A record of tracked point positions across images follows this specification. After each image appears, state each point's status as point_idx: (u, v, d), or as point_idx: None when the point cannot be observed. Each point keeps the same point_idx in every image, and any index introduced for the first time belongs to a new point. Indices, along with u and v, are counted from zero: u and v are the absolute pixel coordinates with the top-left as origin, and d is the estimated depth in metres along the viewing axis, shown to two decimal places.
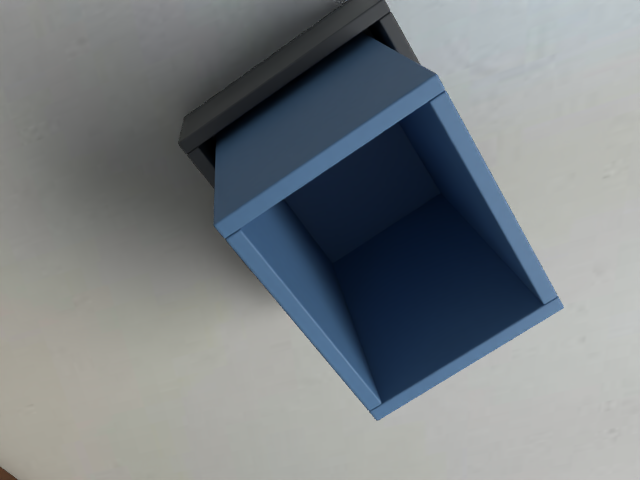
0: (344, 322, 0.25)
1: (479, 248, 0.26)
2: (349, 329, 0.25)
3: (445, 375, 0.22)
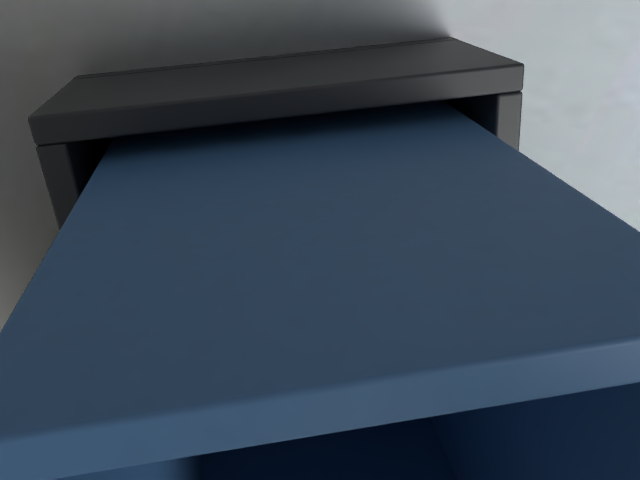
0: None
1: None
2: None
3: None
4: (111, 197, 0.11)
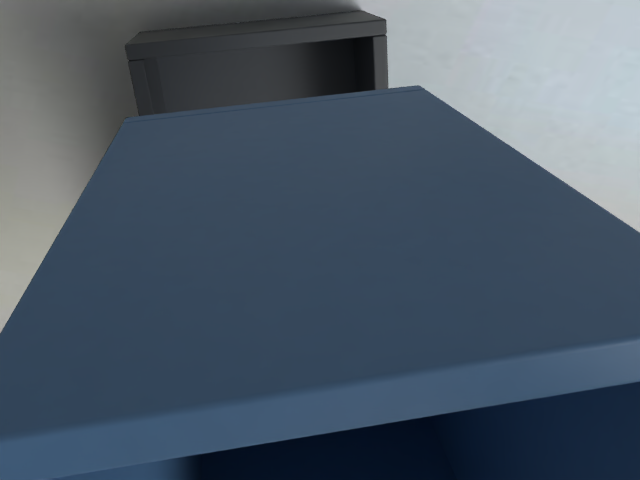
0: None
1: None
2: None
3: None
4: (111, 197, 0.11)
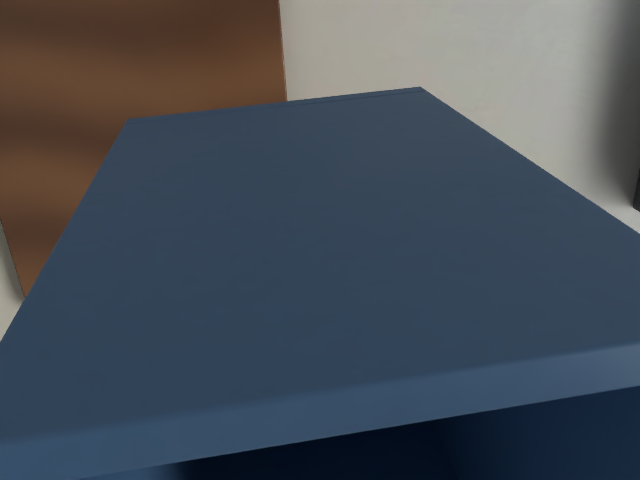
0: None
1: None
2: None
3: None
4: (113, 199, 0.11)
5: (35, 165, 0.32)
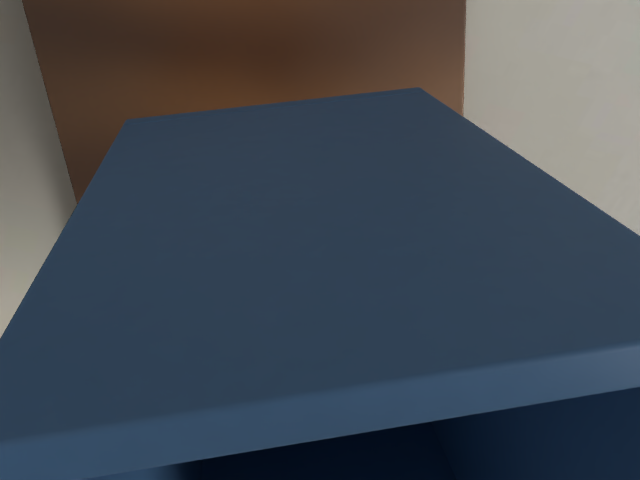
0: None
1: None
2: None
3: None
4: (112, 200, 0.11)
5: None
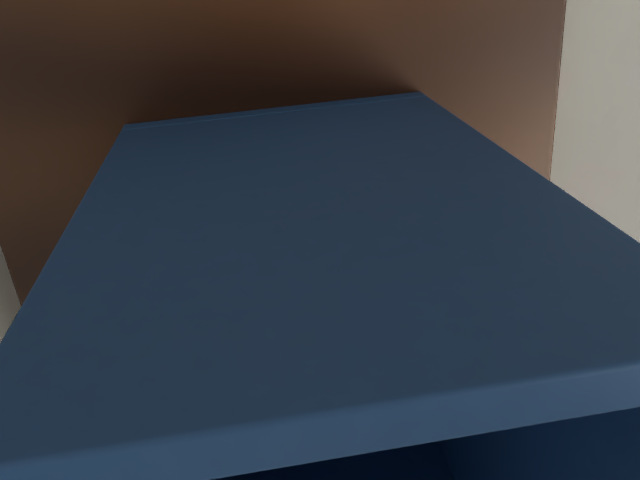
0: None
1: None
2: None
3: None
4: (109, 208, 0.10)
5: None
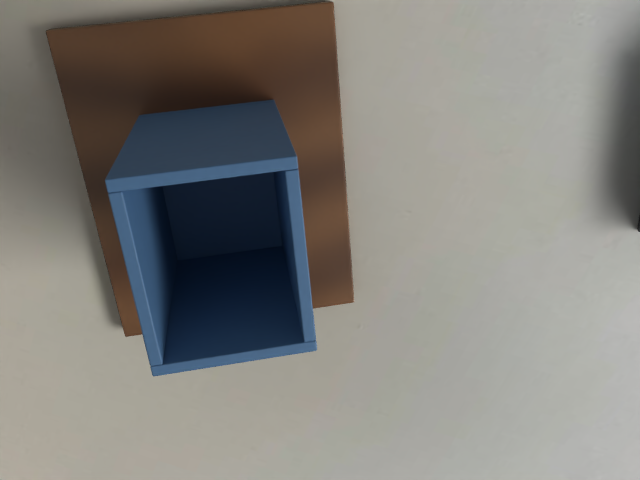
0: (164, 300, 0.32)
1: (285, 292, 0.34)
2: (165, 306, 0.32)
3: (216, 363, 0.29)
4: (137, 140, 0.30)
5: None
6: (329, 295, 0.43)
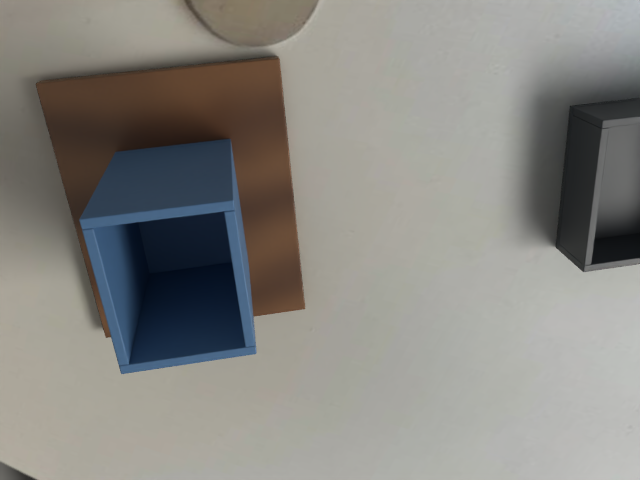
0: (133, 310, 0.39)
1: (236, 303, 0.41)
2: (133, 316, 0.39)
3: (173, 363, 0.36)
4: (109, 180, 0.37)
5: None
6: (283, 303, 0.49)
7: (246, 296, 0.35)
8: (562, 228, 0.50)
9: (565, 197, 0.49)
